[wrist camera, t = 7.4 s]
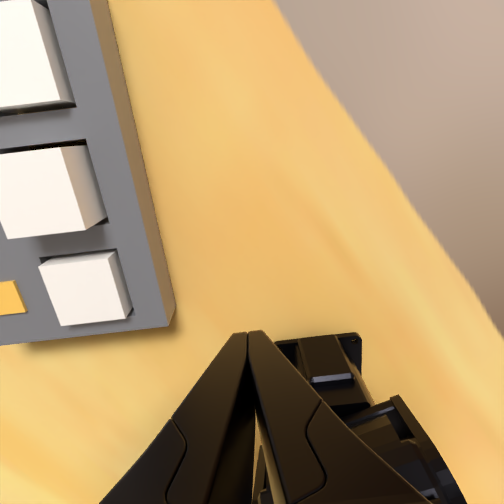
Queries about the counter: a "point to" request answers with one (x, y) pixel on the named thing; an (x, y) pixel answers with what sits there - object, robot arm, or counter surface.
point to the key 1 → (31, 60)
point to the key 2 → (87, 287)
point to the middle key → (49, 192)
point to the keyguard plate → (109, 179)
